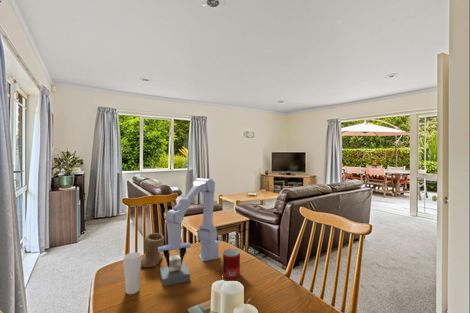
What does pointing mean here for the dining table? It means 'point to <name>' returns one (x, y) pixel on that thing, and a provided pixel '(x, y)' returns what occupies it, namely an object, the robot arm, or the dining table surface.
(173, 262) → the cube
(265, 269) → the dining table surface
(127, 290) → the drinking glass
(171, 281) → the base
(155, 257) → the stone cup
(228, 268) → the canned food
